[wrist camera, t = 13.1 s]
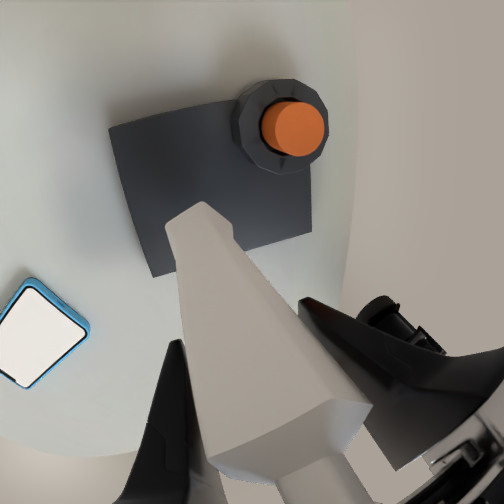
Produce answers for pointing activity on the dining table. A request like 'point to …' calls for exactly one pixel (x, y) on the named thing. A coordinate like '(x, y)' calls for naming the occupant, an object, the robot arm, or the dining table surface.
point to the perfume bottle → (261, 373)
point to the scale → (216, 170)
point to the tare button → (293, 128)
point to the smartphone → (37, 334)
